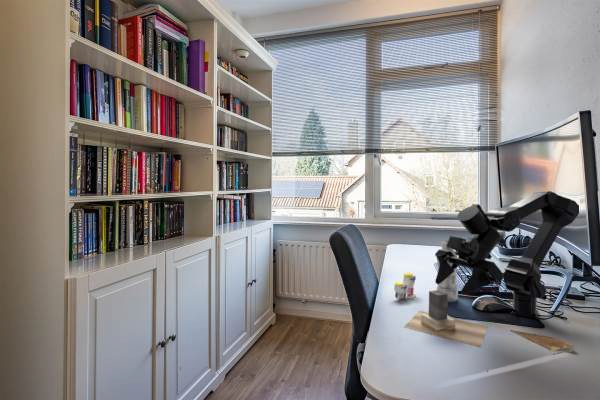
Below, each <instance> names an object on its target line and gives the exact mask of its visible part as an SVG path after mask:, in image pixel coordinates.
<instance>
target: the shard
mask: <svg viewBox="0 0 600 400" xmlns="http://www.w3.org/2000/svg"><path fill="white" fill-rule="evenodd" d="M510 332H512V333H513V334H516V335H518V336H520V337H523V338H525V339H526V340H528V341H530V342H532V343H535V344H537V345H538V346H540V347H542V348H545V349H548V350H549V351H552V352H556V351H560V352H556V353H553V354H552V355H559V354H562V353H570V352H573V351H574V349H575V346H574V345H573V344H571V343H568V342H566V341H563V340H561V339H560V338H556V337H552V336H548V335H543V334H542V335H541V334H536V333H532V332H525V331H524V332H523V331H520V330H519V331H518V330H512V329H510ZM562 350H565V351H562Z"/></svg>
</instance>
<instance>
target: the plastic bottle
mask: <svg viewBox="0 0 600 400" xmlns="http://www.w3.org/2000/svg"><path fill="white" fill-rule="evenodd" d="M447 243H448V240H442V241H441V249H443V250H447V251H451V253H452V254H453V255H454V256H455V257H456V258H458V257H459V256H458V255H456V254H455V251H456V250H454V249H452V248H450V247H449V248H448V247H446V246H447ZM436 260H437V269H438V270H439V261H438V259H437V258H436ZM457 269H458V267H457V268H456V269H453V270H454V271H455V272H453V273H452V274H451V275H450V276H449V277H447V278H446V279H445V280H444V281H442V282H441V283H440V284H437V287H436V290H439V291H441V292H444V293H446V294H448V303H455V302H456V301H457V300H458V297H459V291H458V287H457V286H458V285H457ZM438 270H437V271H438Z"/></svg>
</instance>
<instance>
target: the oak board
mask: <svg viewBox="0 0 600 400" xmlns="http://www.w3.org/2000/svg"><path fill="white" fill-rule="evenodd" d="M425 313H428V312H427V311H426V312H425V311H424V310H423V311H422V310H419V311H417V313H416V314H415V315H414V316H413V317H412V318H411V319H410V320H409V321H408V322H407V323H406V324H405V325H404V326H403V328H404V329H409V330H413V331H417V332H420V333H424V334H428V335H431V336H436V337H440V338H443V339H447V340H452V341H454V342H459V343H461V344H462V343H463V344H466V345H469V346H473V347H478V348H481V347H482V344H483V342H484V338H485V336H486V333H487V330H488V327H489V325H485V324H481V323H477V322H471V321H468V320H462V319H458V318H454V317H452V318H453V319H455V329H451V330H446V331H440V332H436V331H434V330H432V329H431V328H429V327H427V326H426V325H424V324H422V323H421V314H425Z"/></svg>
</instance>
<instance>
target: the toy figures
mask: <svg viewBox="0 0 600 400" xmlns="http://www.w3.org/2000/svg"><path fill="white" fill-rule="evenodd" d="M416 280H417V279H416V275H414V274H413V273H411V272H405V273H403V279H402V281H403V282H401V281H397V282H395V283H394V288H393V291H394V292H395V296H394V297H395V299H396V300H397V301H401V300H403V301H405V300H407V299H415V298H416V297H417V294H416V293H414V290H415V288H414V286H415V281H416Z"/></svg>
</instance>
